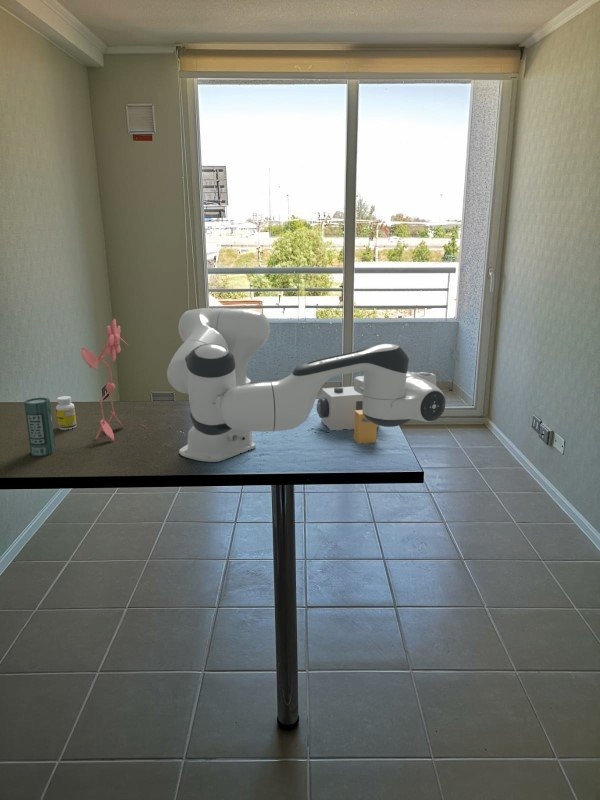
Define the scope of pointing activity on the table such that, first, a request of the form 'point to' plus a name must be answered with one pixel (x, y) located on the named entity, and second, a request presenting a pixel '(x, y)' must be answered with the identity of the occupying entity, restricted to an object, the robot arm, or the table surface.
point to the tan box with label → (364, 429)
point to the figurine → (92, 361)
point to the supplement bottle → (65, 413)
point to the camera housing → (339, 407)
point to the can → (40, 426)
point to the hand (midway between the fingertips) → (382, 376)
